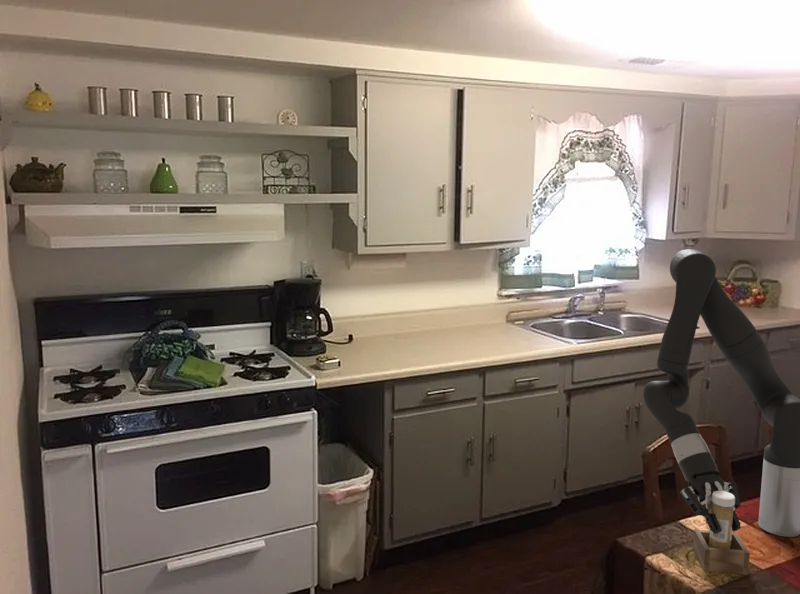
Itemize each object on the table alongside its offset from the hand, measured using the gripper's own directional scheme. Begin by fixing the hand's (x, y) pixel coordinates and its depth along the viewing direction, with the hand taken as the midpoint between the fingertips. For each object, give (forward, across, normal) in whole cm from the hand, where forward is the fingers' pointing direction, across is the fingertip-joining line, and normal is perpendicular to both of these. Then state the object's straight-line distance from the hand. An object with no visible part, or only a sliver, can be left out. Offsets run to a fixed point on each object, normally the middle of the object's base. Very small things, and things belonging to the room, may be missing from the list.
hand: (727, 530), depth 148 cm
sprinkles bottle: (+3, 0, +6) cm, 6 cm away
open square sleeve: (+5, 0, +7) cm, 8 cm away
